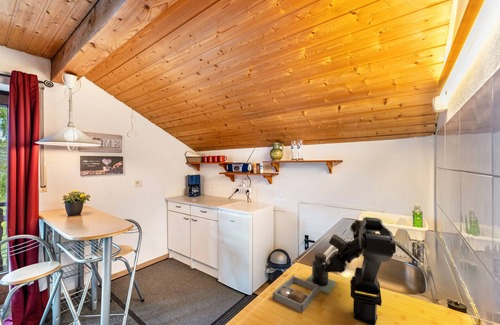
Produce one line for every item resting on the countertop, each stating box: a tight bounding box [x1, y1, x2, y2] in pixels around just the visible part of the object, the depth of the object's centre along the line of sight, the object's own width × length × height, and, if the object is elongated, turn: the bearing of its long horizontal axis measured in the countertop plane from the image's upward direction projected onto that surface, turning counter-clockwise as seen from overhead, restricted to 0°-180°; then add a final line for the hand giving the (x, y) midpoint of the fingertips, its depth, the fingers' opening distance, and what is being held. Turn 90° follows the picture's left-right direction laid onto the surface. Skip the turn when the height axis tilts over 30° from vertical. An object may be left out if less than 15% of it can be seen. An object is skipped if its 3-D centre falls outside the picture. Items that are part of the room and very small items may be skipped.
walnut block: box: [290, 288, 306, 303], centre depth 83 cm, size 4×4×4 cm
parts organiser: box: [272, 275, 320, 313], centre depth 88 cm, size 12×17×2 cm
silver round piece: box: [281, 288, 291, 299], centre depth 86 cm, size 4×4×3 cm
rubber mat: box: [305, 273, 337, 295], centre depth 97 cm, size 11×11×1 cm
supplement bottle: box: [311, 252, 329, 286], centre depth 97 cm, size 7×7×12 cm
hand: (327, 266), depth 95 cm, fingers open, 9 cm apart
